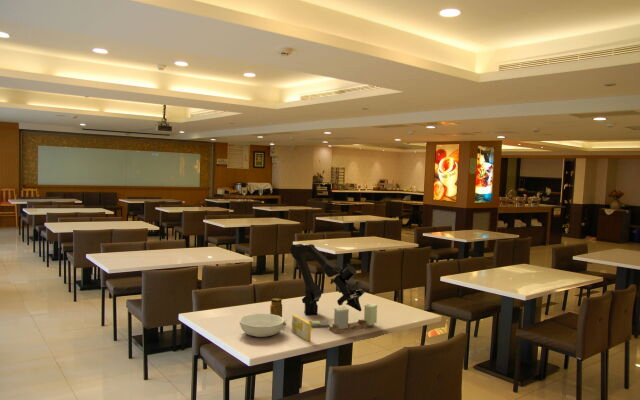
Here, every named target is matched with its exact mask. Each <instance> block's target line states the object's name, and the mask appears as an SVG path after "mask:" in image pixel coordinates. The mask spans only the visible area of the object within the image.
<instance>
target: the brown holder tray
mask: <svg viewBox="0 0 640 400" xmlns="http://www.w3.org/2000/svg"><path fill="white" fill-rule="evenodd" d="M331 324H332V325H330V327H328V330H329V331H331V332H333V334H341V333H348V332H351V331H352V330H353V331H354V330H358V329H364V330H365V329H367V328H369V327H371V326H372V325H367V321H364V318H363V319H362V318H361V319H358V320H357V321H355V322H348V328H345V329H338V326H337V325H335V324H334V323H331Z"/></svg>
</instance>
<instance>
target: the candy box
mask: <svg viewBox="0 0 640 400" xmlns="http://www.w3.org/2000/svg"><path fill="white" fill-rule="evenodd" d="M291 332H292V333H293V334H295V335H296V336H298V337H300V338H302V339H303V340H304V341H306V342H310V341H311V340H312V339H311V337H312V336H311V335H312V328H311V323H310V322H309V321H308V320H306V319H304V318H302V317H300V316H299V315H297V314H292V317H291Z"/></svg>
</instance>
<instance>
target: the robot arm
mask: <svg viewBox="0 0 640 400" xmlns="http://www.w3.org/2000/svg"><path fill="white" fill-rule="evenodd" d="M289 252H290V253H291V256H292V258H293V259H294V260H295V261H296V262H297V264H298V268H299V270H300V273H301V276H302V279H303V283H304V285H305V290H304V293H305V296H304V297H302V299H301V301H302V304H304V311H303V313H304V316H317V315H318V311H319V307H318V306H319V305H318V303H317V302H319V301H320V299H321V297H322V294H323V293H322V292H323V291H322V289H321V286H320V284H316V283H315V280H314V279H313V276H312V273H311V270H310V267H309V265H308V262H307V259H306V257H307V253H308V255H310V256H311V257H312V258H313V259H314V261H316V262H317V263H318V265H320V266H321V269H322V271H323V272H324V274H325V275H326V277H328V278H331V279H330V285H333V284H335V286H336V288H337V289H338V293H339V294H341V296H340V297H339V298H338V299H337V301H336V302H337V305H338V306H340V307H341V306H343V304H344V302H347V303H345V305H347V306H349V307H351V308H353V309H355V310H357V311H358V312H361V311H362V306H361V304H360V299H359V298H361V297H362V296H363V295H364V294H365V290H364V289H363V283H362V282H361V281H360V280H358V281H356V282H355V283H354V284H352V283H348V281H350V280H351V279H352V278H354V277H355V275H357V269H356V268H355V267H353V266H352V265H351V264H349V263H347V264H345V265H344V267H340V266H339V265H337V264H336V263H335V262H332V261H330V260H329V259H327V257H325V255H324V254H323V253H322V252H320V250H319V249H318V248H316V247H315V245H314V244H312V243H310V244H303V243H296V244H292V245H291V246H290V248H289Z"/></svg>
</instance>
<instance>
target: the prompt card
mask: <svg viewBox="0 0 640 400" xmlns="http://www.w3.org/2000/svg"><path fill="white" fill-rule="evenodd" d="M308 322H310V323H311V329H313V328H329V327H330V326H331V324H330V323H329V321H328V320H313V321H312V320H311V321H308Z"/></svg>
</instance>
